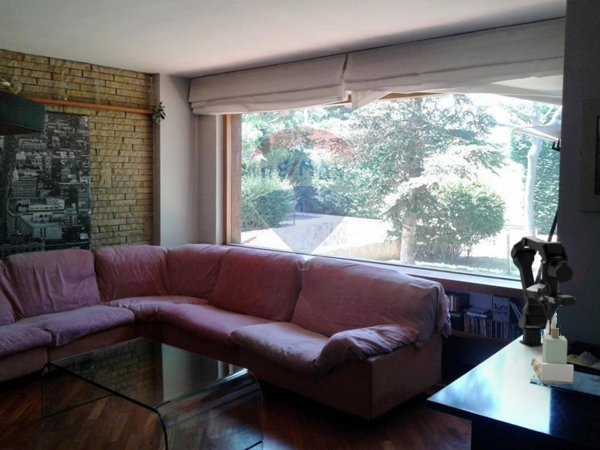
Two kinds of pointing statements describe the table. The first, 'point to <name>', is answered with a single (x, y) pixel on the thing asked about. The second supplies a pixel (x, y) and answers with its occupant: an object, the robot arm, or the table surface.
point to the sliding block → (554, 348)
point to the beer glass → (551, 324)
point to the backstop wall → (557, 372)
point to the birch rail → (537, 369)
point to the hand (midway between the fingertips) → (548, 319)
